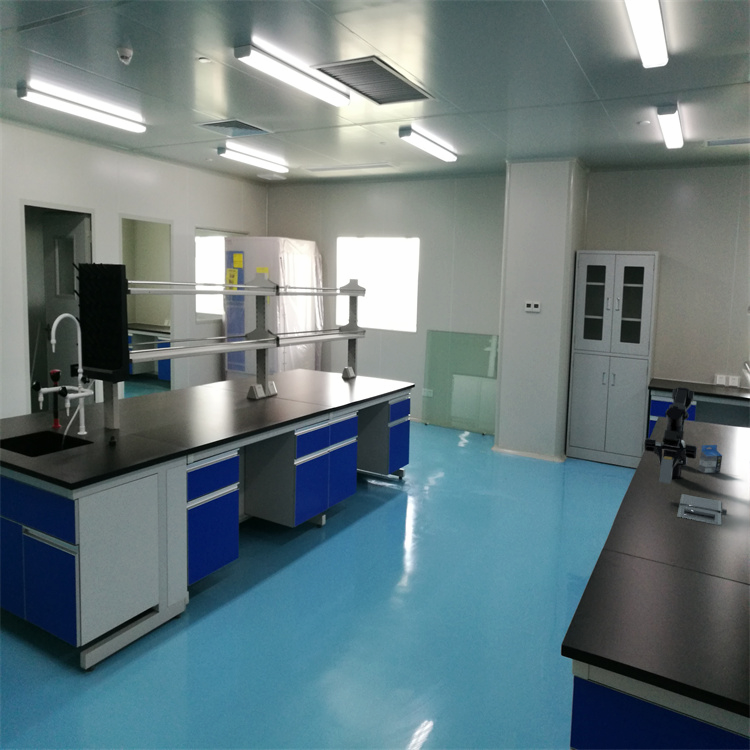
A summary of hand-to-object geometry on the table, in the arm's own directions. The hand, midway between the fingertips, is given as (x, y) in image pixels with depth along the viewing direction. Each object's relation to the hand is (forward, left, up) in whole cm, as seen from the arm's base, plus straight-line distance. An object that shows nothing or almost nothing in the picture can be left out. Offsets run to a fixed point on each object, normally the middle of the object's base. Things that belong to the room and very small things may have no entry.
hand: (666, 466), depth 240 cm
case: (+5, -14, -13) cm, 20 cm away
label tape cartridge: (+51, +24, -13) cm, 58 cm away
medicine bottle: (+45, +38, -13) cm, 61 cm away
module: (+1, +1, -7) cm, 7 cm away
